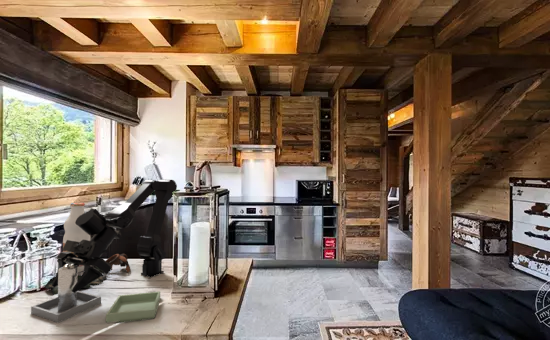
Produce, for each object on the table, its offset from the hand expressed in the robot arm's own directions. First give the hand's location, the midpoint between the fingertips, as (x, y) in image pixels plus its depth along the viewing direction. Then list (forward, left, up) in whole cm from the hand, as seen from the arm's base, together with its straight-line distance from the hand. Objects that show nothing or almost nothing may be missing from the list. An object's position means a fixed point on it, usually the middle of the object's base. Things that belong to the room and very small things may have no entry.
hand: (62, 289), depth 82 cm
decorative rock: (-12, -17, -7) cm, 22 cm away
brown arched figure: (-28, -20, -7) cm, 35 cm away
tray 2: (-12, +17, -7) cm, 22 cm away
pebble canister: (-1, 0, -6) cm, 6 cm away
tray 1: (-1, 0, -7) cm, 7 cm away
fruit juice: (-19, -36, -7) cm, 42 cm away
